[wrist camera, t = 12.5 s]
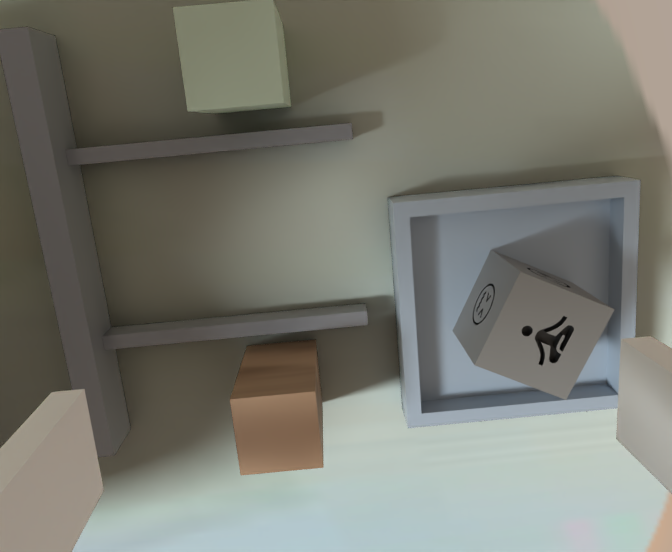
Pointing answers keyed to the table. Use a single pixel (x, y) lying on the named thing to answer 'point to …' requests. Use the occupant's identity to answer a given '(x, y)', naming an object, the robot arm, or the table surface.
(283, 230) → the table surface
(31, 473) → the robot arm
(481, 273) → the dice cube
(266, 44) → the sage block
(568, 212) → the slate tray
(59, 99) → the grey bar frame
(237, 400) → the walnut block
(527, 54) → the table surface
